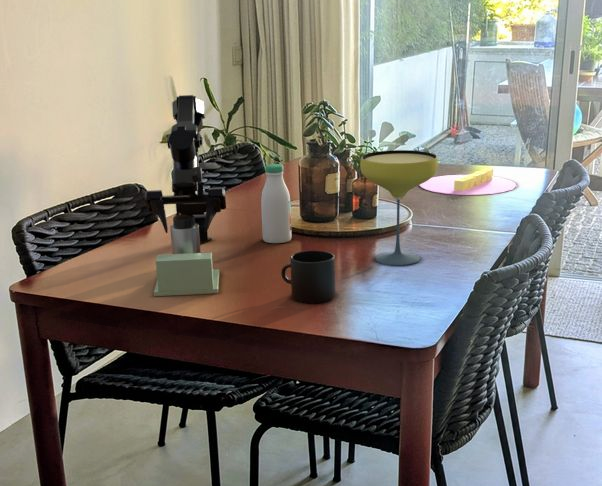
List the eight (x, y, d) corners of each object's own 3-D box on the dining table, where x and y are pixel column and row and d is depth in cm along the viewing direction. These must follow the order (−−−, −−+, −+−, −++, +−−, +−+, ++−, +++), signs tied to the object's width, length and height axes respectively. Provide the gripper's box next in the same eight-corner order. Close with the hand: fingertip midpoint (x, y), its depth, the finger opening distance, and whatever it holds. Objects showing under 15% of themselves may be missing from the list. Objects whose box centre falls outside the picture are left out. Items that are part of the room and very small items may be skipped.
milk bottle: (288, 244, 226) (285, 168, 219) (259, 243, 228) (256, 167, 220) (294, 236, 233) (292, 162, 226) (266, 236, 235) (263, 162, 227)
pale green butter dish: (159, 275, 204) (156, 242, 201) (219, 273, 204) (217, 240, 202) (154, 296, 190) (150, 261, 187) (218, 293, 191) (215, 258, 188)
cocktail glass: (348, 255, 216) (347, 154, 206) (411, 245, 222) (413, 147, 213) (382, 274, 200) (383, 166, 191) (449, 263, 206) (453, 158, 197)
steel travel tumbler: (170, 275, 201) (165, 216, 195) (196, 270, 203) (192, 212, 198) (179, 282, 195) (174, 222, 190) (206, 277, 198) (202, 218, 193)
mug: (290, 286, 193) (289, 247, 190) (341, 291, 189) (340, 252, 186) (274, 300, 185) (272, 259, 182) (326, 305, 181) (325, 264, 178)
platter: (531, 180, 292) (532, 170, 291) (491, 199, 268) (492, 188, 267) (446, 172, 310) (446, 162, 309) (401, 188, 286) (402, 178, 285)
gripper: (141, 156, 199) (140, 215, 193) (222, 153, 200) (224, 211, 193) (147, 183, 209) (147, 239, 203) (225, 180, 210) (227, 236, 204)
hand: (186, 231), depth 200 cm, fingers open, 9 cm apart
